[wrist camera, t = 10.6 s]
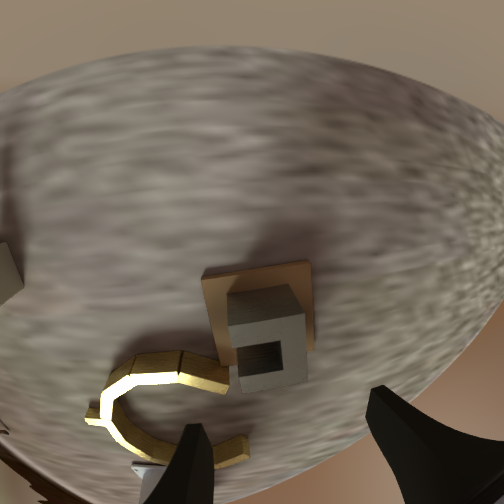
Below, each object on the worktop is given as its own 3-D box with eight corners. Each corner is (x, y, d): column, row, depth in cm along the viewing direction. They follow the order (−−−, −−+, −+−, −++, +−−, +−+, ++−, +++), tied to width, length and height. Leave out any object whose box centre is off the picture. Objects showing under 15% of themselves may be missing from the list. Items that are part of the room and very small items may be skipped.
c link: (293, 345, 19) (307, 381, 16) (238, 355, 19) (242, 393, 15) (288, 283, 18) (304, 313, 14) (226, 293, 18) (227, 326, 14)
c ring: (250, 446, 24) (253, 465, 21) (119, 449, 23) (115, 465, 20) (224, 345, 20) (224, 366, 17) (58, 356, 19) (46, 372, 16)
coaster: (312, 345, 20) (314, 350, 20) (221, 361, 20) (221, 366, 19) (307, 259, 18) (310, 262, 18) (201, 276, 18) (200, 280, 17)
